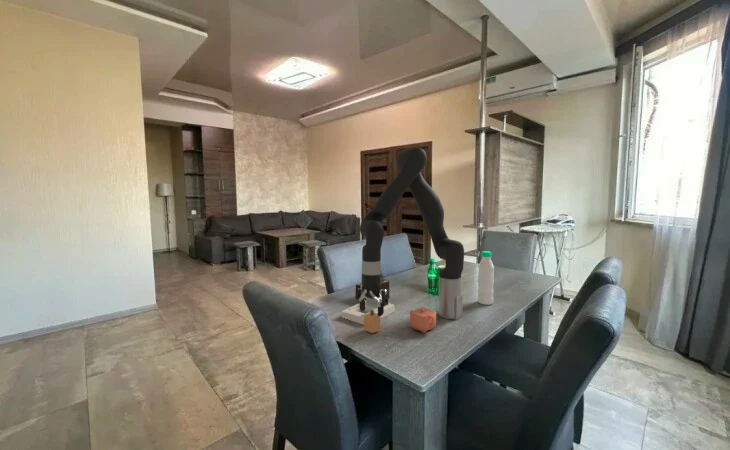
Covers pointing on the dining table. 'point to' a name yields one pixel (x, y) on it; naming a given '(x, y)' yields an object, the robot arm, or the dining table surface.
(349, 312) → the socket plate
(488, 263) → the white milk bottle
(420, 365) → the dining table surface
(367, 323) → the plug
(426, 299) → the dining table surface
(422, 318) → the pink cube teapot
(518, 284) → the dining table surface
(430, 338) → the dining table surface
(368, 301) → the grey block
